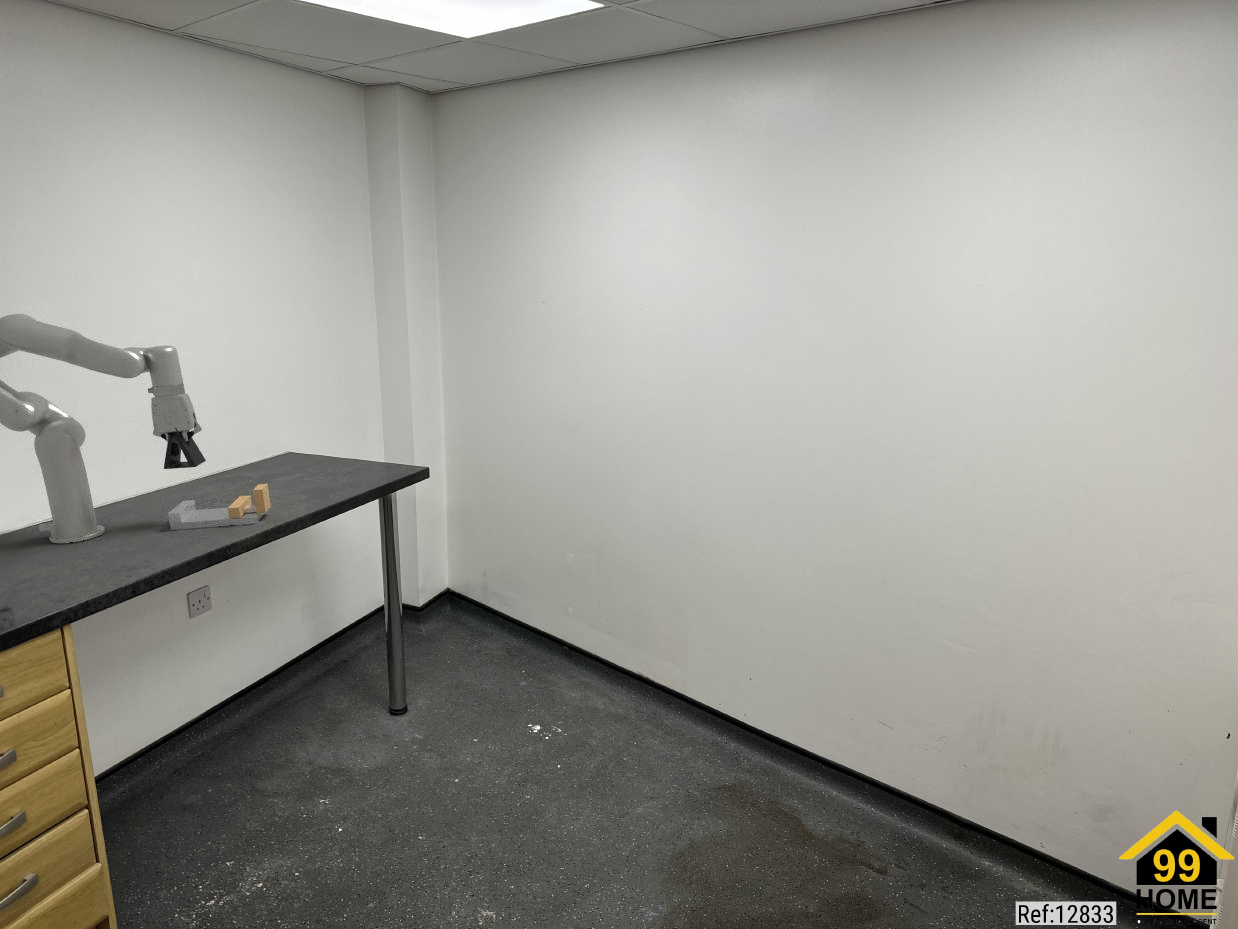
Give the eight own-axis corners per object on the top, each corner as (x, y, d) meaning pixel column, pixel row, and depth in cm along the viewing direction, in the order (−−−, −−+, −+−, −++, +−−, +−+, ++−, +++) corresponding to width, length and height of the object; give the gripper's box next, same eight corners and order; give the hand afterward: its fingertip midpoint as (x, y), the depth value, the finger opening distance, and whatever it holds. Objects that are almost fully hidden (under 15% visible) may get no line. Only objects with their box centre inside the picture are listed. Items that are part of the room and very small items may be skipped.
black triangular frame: (163, 469, 217) (154, 427, 214) (174, 463, 223) (165, 423, 219) (196, 467, 217) (187, 425, 214) (206, 461, 223) (197, 421, 220)
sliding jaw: (229, 518, 217) (225, 494, 216) (241, 505, 229) (237, 483, 227) (263, 515, 219) (259, 492, 217) (273, 503, 230) (270, 481, 229)
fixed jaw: (169, 523, 215) (168, 513, 214) (185, 510, 226) (183, 500, 226) (181, 522, 215) (179, 512, 215) (196, 509, 227) (194, 500, 226)
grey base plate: (171, 530, 215) (169, 523, 215) (186, 517, 227) (185, 510, 226) (256, 523, 219) (255, 517, 219) (267, 511, 231) (266, 504, 230)
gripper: (132, 395, 209) (146, 461, 214) (196, 390, 212) (208, 455, 217) (142, 391, 216) (156, 454, 221) (204, 386, 219) (216, 449, 224)
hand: (182, 454), depth 219 cm, fingers closed on black triangular frame
